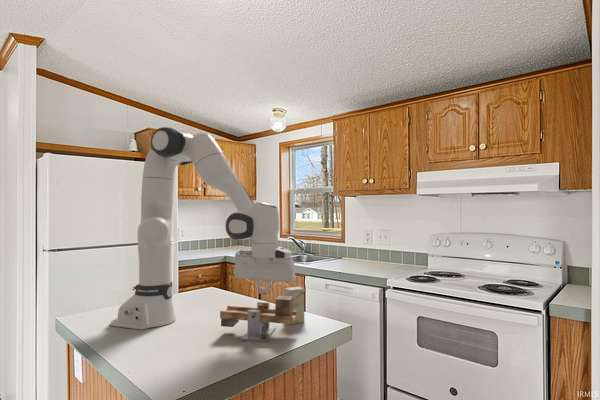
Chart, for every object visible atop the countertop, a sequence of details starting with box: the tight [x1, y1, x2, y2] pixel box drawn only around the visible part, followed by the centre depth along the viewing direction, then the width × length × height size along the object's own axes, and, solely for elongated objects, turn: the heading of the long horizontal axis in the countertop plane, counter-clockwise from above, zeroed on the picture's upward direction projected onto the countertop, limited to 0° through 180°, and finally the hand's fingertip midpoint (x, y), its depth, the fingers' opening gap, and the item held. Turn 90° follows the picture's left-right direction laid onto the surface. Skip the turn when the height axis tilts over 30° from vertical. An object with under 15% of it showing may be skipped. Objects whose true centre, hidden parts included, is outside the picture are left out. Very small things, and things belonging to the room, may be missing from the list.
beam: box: [219, 305, 297, 328], centre depth 121 cm, size 24×8×6 cm, turn 80°
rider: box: [274, 295, 293, 316], centre depth 120 cm, size 5×5×6 cm
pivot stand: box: [240, 301, 277, 343], centre depth 121 cm, size 8×13×9 cm, turn 170°
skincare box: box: [284, 286, 305, 325], centre depth 135 cm, size 6×4×12 cm
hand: (263, 293), depth 121 cm, fingers closed
